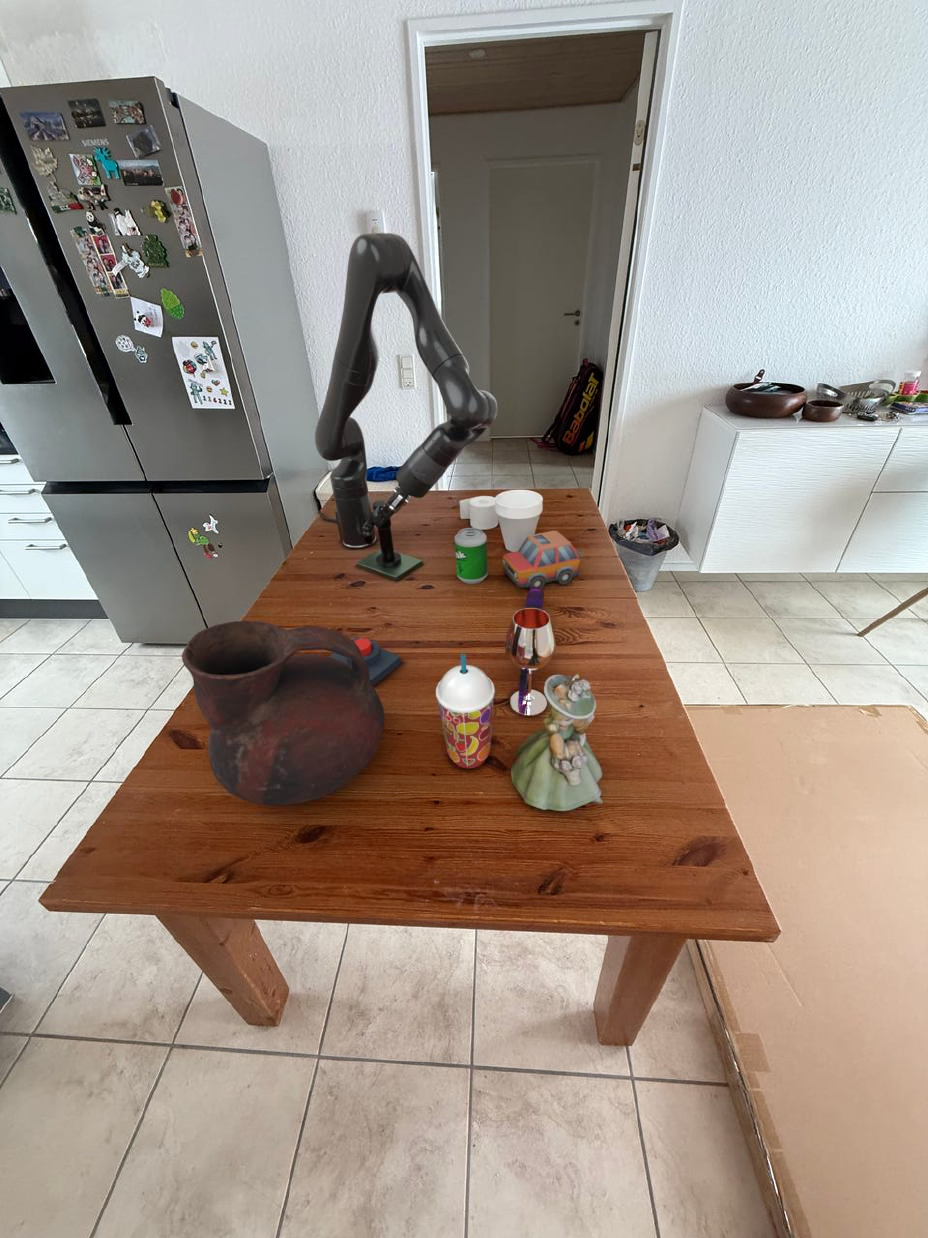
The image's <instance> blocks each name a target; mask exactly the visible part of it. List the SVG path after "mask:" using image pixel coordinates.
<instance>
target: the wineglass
mask: <svg viewBox="0 0 928 1238" xmlns="http://www.w3.org/2000/svg"><path fill="white" fill-rule="evenodd" d="M504 651H505V655H506V657H507V658H508V661H510V663H511V664H512V665H514V667H516V668H518V669H519V670H520V669H522V670H525V671H526V672H527V682H526V688H525V692H524V697H523V703H522V706H521V708H520V709H519V708H518V698H519V690H518V691H515V692H514V693H513V694H512V695H511V696H510V699H509V704H510V707H511V709H512V710H513V711H514V712H515V713H517V714H519V715H521V716H526V717H534V716H537V715H540V714H541V713H543V712H544V711H545V710H546V708H547V707H548V700H547V698H546V696H545V694H544V693H542V692H540V691H538V690H535V689H532V683H533V673H534V672H536V671H539V670H541V669H543V668H545V667H547V666H548V665H549V664H550V663H551V662H552V661H553V659H554V657H555V655H556V653H557V640H556V636H555V632H554V626H553V624H552V620H551V616H550V614H548V612H546V611H545V610H543V609H542V610H540V609H536V608H525V607H524V608H521V609H519V610H517V611H515V612H514V614H513V615H512V619H511V621H510V624H509V627H508V630H507V633H506V637H505V640H504Z"/></svg>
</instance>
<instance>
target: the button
mask: <svg viewBox="0 0 928 1238" xmlns="http://www.w3.org/2000/svg"><path fill="white" fill-rule="evenodd" d="M369 640H370V639H367V638H361V639H358V640H356V641H354V642H355V643H356V645H357V646H358V647H359V649H360V652H361V655H362V657H363V656H366V655H369V654H370V653H371V652H372V647H371V642H370V641H369Z"/></svg>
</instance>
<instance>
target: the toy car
mask: <svg viewBox="0 0 928 1238" xmlns="http://www.w3.org/2000/svg"><path fill="white" fill-rule="evenodd" d="M583 555H584V554H582V552H580V551H579V550H578V549H576V548H575V547H574V546H573V544H572V542H571V541H570V540H568V539H567V538H566V537H565V536H564V535H563V534H561V533H560V532H559V531H558V530H549V531H545V532H540V533H535V534H534V535H530V536H528V537H527V538H526V540H525V541H524V543H523V544H522V546H521V547H520V549H519V550H518V551H517V552H508V553H504V554H503V556H502V564H503V572H504V573H505V575H507V577H508V578H510V580H511V582H513V584H514V585H515V586H516V587H518V588H522V589H524V588H529V590H530V589H531V588H533V587H538V588H541V589H542V590H543V588H544V587H545V585H546V584H548V583H551V582H554V581H555V582H558V583H559V584H560V585H563V586H564V585H567V584H569V583H570V582H571V581H572V580H573V578H575V577H576V576H578V575H579V574H580V568H579V566H580V563H581V560H582V559H583V557H584V556H583Z"/></svg>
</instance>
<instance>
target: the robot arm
mask: <svg viewBox="0 0 928 1238" xmlns="http://www.w3.org/2000/svg"><path fill="white" fill-rule="evenodd" d="M420 267H421V266H420V265H419V262H418V259H416V256H415V254H414V252H413V250H412V248H411V246H410V245H409V243H408V242H407V240H406V239H405V238H404V237H403V236H401V235H400V234H396V233H390V232H365V233H362V234H360V235H358V236H357V237H356V238H355V239H354V240H353V242H352V245H351V247H350V251H349V256H348V262H347V270H346V272H347V273H346V281H345V290H344V301H343V309H342V315H341V320H340V322H341V323H340V328H339V333H338V337H337V343H336V346H335V352H334V356H333V361H332V366H331V371H330V378H329V382H328V386H327V391H326V395H325V399H324V403H323V406H322V409H321V413H320V415H319V418H318V420H317V424H316V426H315V433H314V444H315V447H316V450H317V453H318V454H319V456H320V458H321V457H322V459H323V460H325V461H328V462H336V461H339V460H340V461H339V463H338V464H337V466H336V467H335V468H334V469H333V470H332V471H331V472H330V475H329V478H330V479H329V480H330V485H331V490H332V494H333V499H334V504H335V508H336V509H335V510H334V514H335V518H330V517H326V516H324V514H323V512H322V510H319V511H318V512H317V514H318V515H319V516H320V517H321V518H322V519H323V520H325V521H330V522H336V524H337V529H338V533H339V538H340V542H341V543H342V544H343V546H344V547H346V548H347V549H353V550H354V549H355V550H356V549H357V550H359V549H364V548H368V547H371V546H372V545H374V544H375V543H376V542H377V535H376V529H375V527H376V526H377V527H379V528H380V527H381V526H382V525H383V524H384V523H385V521H386V520H387V519H390V518H391V519H392V517H393V516H394V515H395V514H397V513H398V512H400V510H401V509H402V508H403V507H405V506H406V505H407V504H408V503H409V502H410V500H411V499H412V498H416V499H422V498H424V497H425V496H426V495H427V494H428V493H429V492H430V491H431V489H432V488H433V487H434V486H435V485H436V484H437V483H438V481H440V479H441V478H442V477H443V476H444V474H445V473H446V472H447V470H448V469H449V467H450V466H451V465H452V464H453V462H455V460H456V459H458V457H459V456H460V454H461V453H462V452H463V451H464V450H465V449H466V448H467V447H469V446H470V445H471V444H473V442H475V441H476V440H477V439H478V438H479V437H480V436H482V435H483V434H484V433H485V432H486V431H487V430H488V429H489V428H490V427H491V426H492V425H493V423H494V421H495V420H496V418H497V415H498V403H497V400H496V398H495V397H494V395H493V394H491V393H490V392H488V391H486V390H484V389H483V390H482V389H477V387H476V385H474V383H473V380H472V379H471V377H470V375H469V374H470V365H469V363H468V361H467V359H466V357H465V356H464V354H463V352H462V350H461V349H460V348H459V346H458V344H457V343H456V341H455V340H454V337H453V336H452V335H451V333H450V331H449V329H448V328H447V325H446V324H445V322H444V320H443V318H442V316H441V314H440V312H439V310H438V308H437V305H436V302H435V301H434V298H433V296H432V294H431V291H430V288H429V286H428V283H427V281H426V279H425V277H424V275H423V272H422V270H421V268H420ZM392 293H396V294H397V296H398V297H399V298H400V299H401V301H402V302H403V303H404V304H405V306H406V307H407V309H408V311H409V314H410V316H411V319H412V320H411V321H412V326H413V336H414V342H415V346H416V350H417V353H418V356H419V357H420V359H421V362H422V363H423V365H424V366H425V368H426V369H427V372H429V374H430V376H431V378H432V379H433V381H434V382H435V383H436V385H437V387H438V390H439V393H440V396H441V398H442V401H443V404H444V406H445V409H446V411H447V413H448V415H449V417H450V418H449V419H448V420H446V421H445V422H441V423H440V424H438V425H436V426H435V428H434V429H432V431H431V432H430V433H429V434H428V435H427V436H426V438H425V439H424V441H423V442H422V443H421V444H420V445H418V447H416V449H414V451H413V452H412V453H411V454H410V455H409V456H408V458H407V459H406V460H405V462H404V463H403V464H402V465H401V466H400V468H399V469H397V471H396V473H395V479H396V481H397V484H396V486H395V487H394V488H393V490H392V491H391V492H390V495H389V496H388V497H387V499H386V500H384V501H385V505H384V506H383V508H382V509H381V510H380V513H379V514H378V515H377V516H376V517H375V519H374V520H373V523H374V524H375V526H374V527H373V529H372V535H373V543H372V544H366V543H365V541H364V536H363V530H362V528H363V526H364V524H365V523H366V521H367V520H368V518H369V517H370V515H371V514H372V512H373V511H372V510H373V509H372V506H371V505H372V504H371V499H370V491H369V488H368V481H367V473H368V463H367V454H366V453H367V452H366V445H365V437H364V433H363V431H362V428H361V425H360V424H359V422H358V421H357V419H355V418H353V417H352V414H353V413H354V412H355V411H356V409H357V408H358V407H359V405H360V404H361V403H362V402H363V400H364V399H365V398H366V397H367V395H368V393H369V392H370V391H371V389H372V387H373V384H374V381H375V378H376V374H377V371H378V367H379V362H380V349H379V346H378V342H377V338H376V335H375V332H374V329H373V317H374V312H375V308H376V304H377V302H378V299H379V296H380V295H383V294H392ZM377 527H376V528H377Z"/></svg>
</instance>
